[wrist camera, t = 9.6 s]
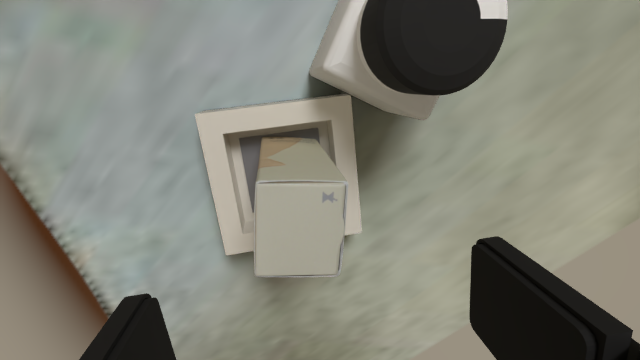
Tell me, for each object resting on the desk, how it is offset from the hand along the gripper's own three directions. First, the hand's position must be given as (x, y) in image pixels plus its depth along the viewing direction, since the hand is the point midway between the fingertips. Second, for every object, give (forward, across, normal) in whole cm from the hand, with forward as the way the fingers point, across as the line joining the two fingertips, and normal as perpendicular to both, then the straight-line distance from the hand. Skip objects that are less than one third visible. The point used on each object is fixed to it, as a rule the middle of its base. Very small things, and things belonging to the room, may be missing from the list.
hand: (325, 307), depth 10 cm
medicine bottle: (+18, -7, -8) cm, 21 cm away
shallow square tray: (+18, +1, 0) cm, 18 cm away
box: (+17, +1, 0) cm, 17 cm away
